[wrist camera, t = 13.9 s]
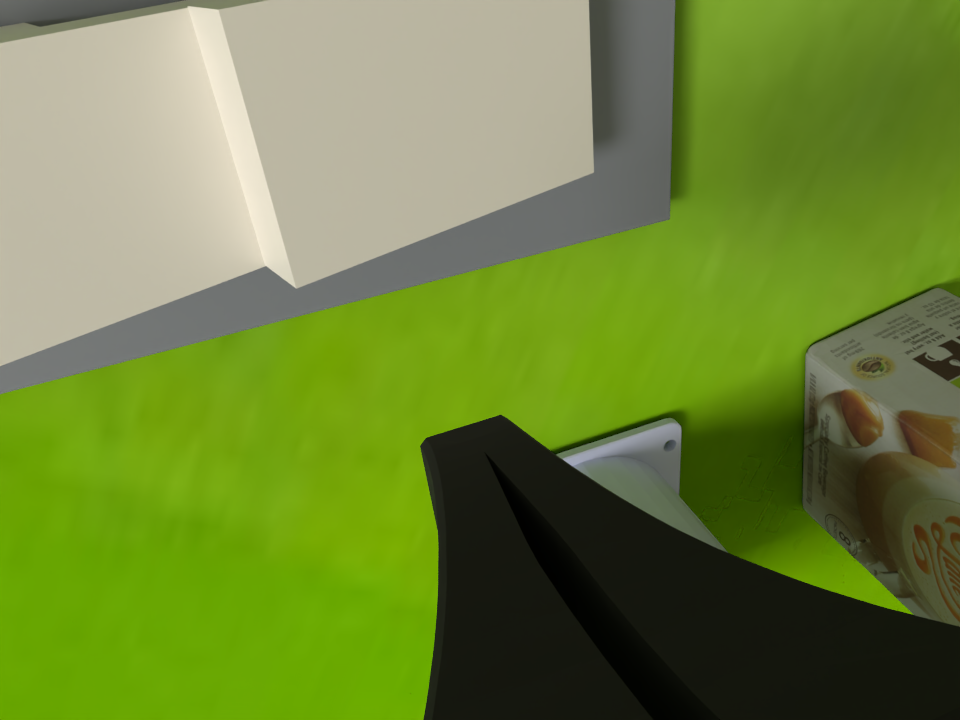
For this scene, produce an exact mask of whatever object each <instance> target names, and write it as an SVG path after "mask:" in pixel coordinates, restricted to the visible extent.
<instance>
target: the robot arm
mask: <svg viewBox="0 0 960 720" xmlns="http://www.w3.org/2000/svg"><path fill="white" fill-rule="evenodd" d="M681 437H682V429H681V426H680V425H679V423H678V422H677V421H676V420H675V419H673V418H665V419H662V420H659V421H656V422H653V423H650V424H647V425H644V426H641V427H638V428H635V429H632V430H629V431H626V432H623V433H620V434H617V435H613V436H610V437H607V438H604V439H601V440H598V441H595V442H592V443H589V444H586V445H583V446H580V447H577V448H574V449H571V450H568V451H565V452H562V453H559V454H554V453H553V452H551V451H550V450H549V449H547V448H546V447H545V446H543V445H542V444H540V443H539V442H538V441H536V440H535V439H534V438H532V437H531V436H530V435H528V434H527V433H526V432H524V431H523V430H522V429H521V428H519V427H518V426H517V425H515V424H514V423H513V422H511V421H510V420H509V419H507V418H505V417H504V416H502V415H499V416H496V417H492V418H489V419H486V420H483V421H479V422H476V423H473V424H470V425H466V426H463V427H460V428H457V429H453V430H450V431H447V432H444V433H441V434H437V435H434V436H431V437H428V438H426V439H425V440H424V442H423V443H422V444H421V446H420V447H421V452H422V457H423V462H424V467H425V471H426V476H427V481H428V486H429V491H430V496H431V500H432V505H433V510H434V515H435V520H436V524H437V529H438V542H439V561H438V603H437V619H436V630H435V642H434V651H433V659H432V667H431V674H430V682H429V690H428V696H427V703H426V709H425V715H424V720H960V627H959V626H955V625H951V624H947V623H943V622H939V621H935V620H931V619H927V618H923V617H919V616H915V615H911V614H907V613H903V612H899V611H895V610H891V609H887V608H884V607H880V606H877V605H873V604H870V603H867V602H864V601H860V600H857V599H854V598H851V597H848V596H844V595H841V594H838V593H835V592H831V591H828V590H825V589H822V588H819V587H816V586H813V585H810V584H808V583H805V582H802V581H799V580H796V579H793V578H790V577H788V576H785V575H783V574H780V573H778V572H775V571H772V570H770V569H767V568H765V567H762V566H759V565H757V564H754V563H752V562H749V561H746V560H744V559H741V558H739V557H737V556H734V555H732V554H730V553H728V552H727V551H726V549H725V548H724V547H723V546H722V545H721V544H720V543H719V541H718V540H717V539H716V538H715V537H714V536H713V535H712V533H711V532H710V531H709V530H708V529H707V528H706V526H705V525H704V524H703V523H702V522H701V521H700V520H699V518H698V517H697V516H696V515H695V514H694V513H693V511H692V510H691V509H690V508H689V507H688V506H687V505H686V503H685V502H684V501H683V500H682V499H681V498H680V497H679V485H680V461H681ZM667 441H669V442H668V443H667V444H665V443H666V442H667ZM664 444H665V445H664Z"/></svg>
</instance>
